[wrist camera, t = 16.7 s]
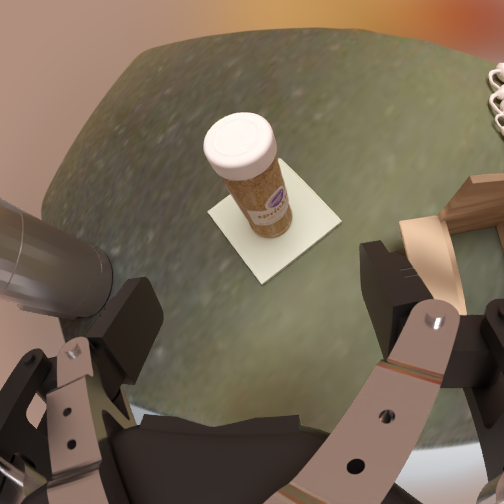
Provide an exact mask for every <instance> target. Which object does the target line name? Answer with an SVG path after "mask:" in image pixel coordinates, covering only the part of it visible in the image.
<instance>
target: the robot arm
mask: <svg viewBox="0 0 504 504" xmlns="http://www.w3.org/2000/svg"><path fill="white" fill-rule="evenodd" d="M359 251H360V277H361V290H362V295H363V298H364V301H365V304H366V307H367V310H368V312H369V315H370V318H371V321H372V324H373V327H374V330H375V333H376V336H377V339H378V342H379V345H380V348H381V351H382V354H383V358H384V360H383V359H382V360H380V361H379V362H378V364H377V365H376V367H375V368H374V370H373V372H372V373H371V375H370V377H369V378H368V380H367V381H366V383H365V385H364V386H363V388H362V389H361V391H360V393H359V394H358V396H357V397H356V399H355V400H354V402H353V403H352V405H351V406H350V408H349V409H348V410H347V412H346V413H345V415H344V416H343V418H342V419H341V420H340V422H339V423H338V425H337V426H336V427H335V429H334V430H333V431H332V433H331V434H330V433H328V432H325V431H322V430H319V429H315V428H311V427H304V426H301V425H300V420H299V415H293V416H280V417H265V418H253V419H249V420H245V421H241V422H237V423H232V424H228V425H223V426H218V427H208V426H205V425H201V424H198V423H194V422H191V421H188V420H185V419H181V418H178V417H171V416H159V415H148V414H144V416H143V419H142V421H141V424H140V425H137V424H136V422H135V419H134V416H133V413H132V411H131V408H130V405H129V402H128V399H127V396H126V393H125V391H124V390H123V389H122V387H121V384H131V385H135V383H136V381H137V378H138V376H139V374H140V372H141V369H142V367H143V365H144V363H145V360H146V358H147V356H148V354H149V351H150V349H151V347H152V345H153V343H154V341H155V338H156V336H157V334H158V332H159V330H160V328H161V326H162V323H163V310H162V307H161V305H160V303H159V301H158V299H157V296H156V294H155V292H154V290H153V288H152V285H151V283H150V281H149V280H148V278H146V277H140V278H133V279H128V280H127V281H126V282H125V284H124V285H123V286H122V288H121V289H120V290H119V292H118V293H117V294H116V296H115V297H113V298H112V299H111V300H110V301H109V303H108V304H107V305H106V307H105V308H104V310H103V311H102V312H101V314H100V315H99V316H100V317H98V318H97V319H96V321H95V322H94V324H93V325H92V327H91V328H90V329H89V331H88V332H87V334H86V335H85V337H77V338H74V339H72V340H70V341H68V342H67V343H66V344H64V346H62V348H61V349H60V350H59V353H58V355H57V356H56V357H52V358H47V357H46V355H45V354H44V352H43V351H42V350H41V349H33V350H31V351H29V352H28V353H26V354H25V355H24V356H23V357H22V358H21V360H20V361H19V363H18V364H17V366H16V367H15V369H14V370H13V372H12V373H11V375H10V376H9V378H8V379H7V381H6V383H5V384H4V386H3V388H2V389H1V391H0V504H422V503H421V502H419V501H418V500H417V499H415V498H414V497H412V496H411V495H410V494H409V493H407V492H406V491H405V490H404V489H402V488H401V487H400V486H398V485H397V484H396V483H395V480H396V478H397V477H398V475H399V473H400V472H401V470H402V468H403V466H404V465H405V463H406V461H407V459H408V457H409V455H410V454H411V452H412V450H413V448H414V446H415V444H416V442H417V440H418V438H419V436H420V434H421V432H422V429H423V427H424V425H425V423H426V421H427V418H428V416H429V414H430V411H431V409H432V407H433V404H434V402H435V399H436V397H437V394H438V391H439V389H440V388H463V390H464V393H465V396H466V399H467V402H468V405H469V408H470V411H471V414H472V417H473V420H474V424H475V427H476V431H477V434H478V438H479V442H480V445H481V449H482V454H483V458H484V462H485V467H486V471H487V476H488V481H489V482H488V483H487V484H486V485H485V487H484V488H483V489H482V491H481V492H480V494H479V496H478V499H477V502H476V504H504V299H495V300H493V301H491V302H490V303H488V305H487V306H486V309H485V312H484V315H459V312H458V311H457V309H456V308H455V307H454V306H453V305H452V304H450V303H448V302H446V301H443V300H438V299H434V297H433V296H432V294H431V293H430V291H429V290H428V288H427V287H426V285H425V284H424V282H423V281H422V279H421V278H420V276H419V275H418V273H417V272H416V270H415V269H414V268H413V266H412V264H411V263H410V262H409V260H408V259H407V258H406V257H404V256H403V255H401V254H399V253H398V252H392V253H389V252H388V250H387V249H386V247H385V246H384V244H383V243H382V241H380V240H379V241H373V242H366V243H361V244H360V247H359ZM111 285H112V269H111V264H110V261H109V259H108V257H107V256H106V254H105V253H104V252H103V251H102V250H100V249H98V248H96V247H94V246H92V245H90V244H88V243H86V242H84V241H81V240H80V239H78V238H76V237H74V236H72V235H70V234H68V233H66V232H64V231H62V230H60V229H58V228H56V227H54V226H52V225H50V224H48V223H46V222H44V221H42V220H40V219H38V218H36V217H34V216H32V215H31V214H29V213H27V212H25V211H23V210H21V209H19V208H17V207H16V206H14V205H12V204H10V203H8V202H6V201H5V200H3V199H1V198H0V300H4V301H8V302H12V303H17V306H18V308H19V309H20V310H23V311H28V312H33V313H38V314H43V315H49V316H54V317H60V318H65V319H71V320H75V319H76V318H77V317H89V316H92V315H94V314H96V313H97V312H98V311H99V310H100V309H101V308H102V307H103V305H104V304H105V302H106V300H107V298H108V296H109V293H110V290H111ZM35 393H37V394H38V395H39V396H40V397H41V398H42V400H43V401H44V402H45V403H46V405H47V409H46V411H45V413H44V415H43V417H42V419H41V421H40V423H39V425H38V427H37V429H36V428H35V427H34V426H33V425H32V424H30V423H29V421H28V419H27V417H26V411H27V408H28V406H29V404H30V403H31V401H32V399H33V397H34V395H35Z"/></svg>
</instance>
